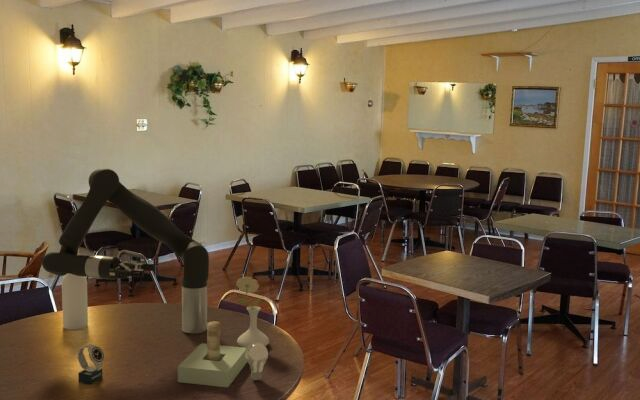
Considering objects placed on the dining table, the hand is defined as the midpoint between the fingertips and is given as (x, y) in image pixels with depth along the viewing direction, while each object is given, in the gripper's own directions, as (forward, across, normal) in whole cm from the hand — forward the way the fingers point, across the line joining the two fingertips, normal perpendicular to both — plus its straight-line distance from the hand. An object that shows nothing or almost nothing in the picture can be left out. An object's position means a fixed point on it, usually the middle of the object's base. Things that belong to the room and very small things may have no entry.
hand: (148, 270), depth 212 cm
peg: (+24, -5, +30) cm, 39 cm away
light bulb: (+39, -8, +30) cm, 50 cm away
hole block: (+24, -5, +30) cm, 39 cm away
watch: (-10, -20, +30) cm, 38 cm away
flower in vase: (+29, +20, +30) cm, 46 cm away
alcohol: (-40, +22, +30) cm, 55 cm away
